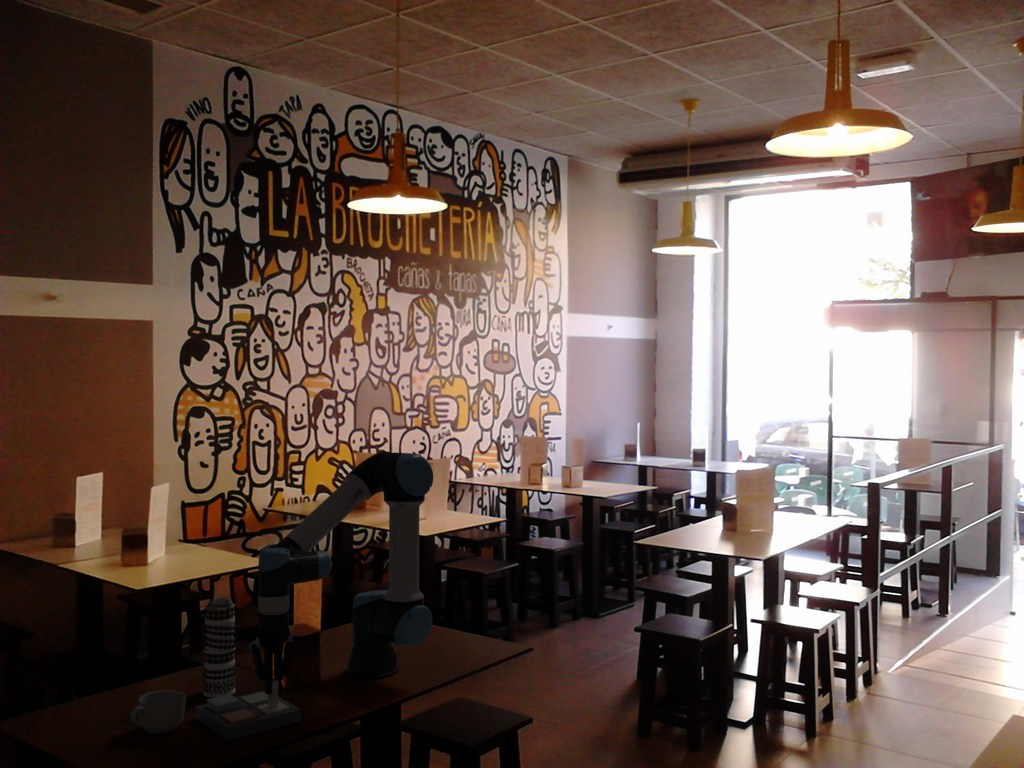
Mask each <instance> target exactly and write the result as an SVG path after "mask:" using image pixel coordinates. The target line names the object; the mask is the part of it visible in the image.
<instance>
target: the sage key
mask: <svg viewBox="0 0 1024 768" xmlns="http://www.w3.org/2000/svg"><path fill="white" fill-rule="evenodd" d="M241 701H243V702H244V703H246V704H248V705H249V706H252V705H256V704H260V703H264V702H268V695H267V694H265V693H263V692H261V693H257V694H253V695H248V696H244V697H241Z"/></svg>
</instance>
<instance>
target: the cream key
mask: <svg viewBox="0 0 1024 768" xmlns="http://www.w3.org/2000/svg"><path fill="white" fill-rule="evenodd" d="M256 710H258V711H259V712H261V713H263V714H264V715H266V716H268V715H271V714H275V713H279V712H283V711H287V710H290V707H288V706H286V705H285V704H283V703H281V702H279V701H278V707H276V708H271V707H270V706H268V704H265V705H261V706H257V707H256Z"/></svg>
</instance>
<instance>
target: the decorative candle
mask: <svg viewBox="0 0 1024 768" xmlns="http://www.w3.org/2000/svg"><path fill="white" fill-rule="evenodd" d="M235 607H236V604H235V603H234V602H233V601H232V600H231V599H230V598H215V599H212V600H210V601H209V602H208V604H207V605H205V606H204V608H205V617H204V620H203V621H202V622H201V623H202V624H201V625H202V627H201V629H202V630H201V631H202V632H203V634H202V644H203V645H204V646H203V647H202V650H203V652H204V655H205V657H204V667H203V668H202V669H203V670H202V671H203V672H204V673H202V677H203V678H204V679H203V680H202V685H203V686H202V689H203V691H202V692H203V693H202V694H203V695H202V696H205V697H207V698H210V699H212V697H213V698H216V697H220V696H225V695H229V694H230V695H233V694H234V693H235V692H236V685H237V684H236V681H237V678H236V676H235V675H236V673H237V672H236V670H235V669H237V665H236V664H235V663H236V662H235V650H236V649H237V643H235V642H237V641H238V640H237V639H238V638H236V637H235V636H236V635H237V634H238V631H237V630H236V629H238V625H236V624H235V623H236V616H235Z"/></svg>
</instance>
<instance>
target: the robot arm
mask: <svg viewBox="0 0 1024 768" xmlns="http://www.w3.org/2000/svg"><path fill="white" fill-rule="evenodd" d="M433 484H434V471H433V468H432V465H431V463H430V462H429V461H428V460H427V459H426V458H425V457H424V456H422V455H419V454H415V453H413V452H412V453H411V452H392V451H381V452H377V453H375V454H373V455H371V456H369V457H367V458H365V459H364V460H363V461H362V462H360V463H359V464H357V465H356V466H355V467H354V468H353V469H352V470H350V472H348V473H347V474H346V475H345V477H344V482H343V483H342V484H341V485H339V486H338V487H337V488H336V489H335V490H334V491H333V492H332V493H331V494H330V495H329V496H328V497H327V498H325V499H324V500H323V501H322V503H320V504H318V506H317V507H315V508H314V510H313V511H311V512H310V513H309V515H307V516H306V517H305V518H304V519H303V520H302V521H301V522H300V523H298V524H297V525H296V527H295V526H294V528H293V529H292V530H291V531H289V532H288V534H286V536H284V537H283V538H281V540H280V541H278V543H273V544H268V545H266V546H264V547H263V548H262V549H261V550H260V552H259V554H258V567H257V573H258V574H257V575H258V576H257V577H258V579H257V581H258V585H257V587H258V596H257V597H258V599H257V601H258V603H257V604H258V605H257V606H258V607H257V610H258V612H259V613H257V628H258V629H257V634H256V638H255V639H254V640H253V641H252V642H251V641H250V642H248V643H247V647H248V649H249V650H250V652H251V655H252V659H253V664H254V668H255V673H256V678H257V679H259V680H261V681H262V682H264V690H265V693H266V694H268V706H270V707H271V708H276V707H278V697H279V693H281V692H282V681H284V677H286V676H288V675H289V674H290V671H291V667H292V666H291V665H292V661H293V657H294V651H295V647H296V645H297V643H298V641H299V639H300V637H299V635H297V634H294V633H291V630H290V628H289V627H290V612H289V611H288V610H289V609H290V587H291V586H292V585H297V584H303V583H304V584H305V583H310V582H313V581H314V582H317V581H320V580H323V579H326V578H328V577H329V575H330V574H331V571H332V559H331V556H330V555H329V553H328V552H327V551H326V550H321V549H319V550H313V548H315V547H316V546H317V545H318V543H320V542H321V541H322V540H323V539H324V538H325V537H326V536H327V535H328V534H330V532H332V531H333V529H335V528H336V527H337V526H338V525H339V524H340V523H341V522H342V521H344V519H345V518H346V517H348V515H350V514H351V512H352V511H353V510H355V509H356V508H357V507H358V506H359V505H360V504H361V503H362V502H363V501H369V500H370V499H371V498H372V497H373V496H374V495H377V494H379V493H382V492H383V501H384V502H385V503H386V505H387V506H388V507H389V512H388V517H389V518H388V519H389V521H388V523H389V524H388V525H389V526H388V527H389V528H388V589H387V590H386V589H382V590H371V591H365V592H360V593H357V594H356V595H355V596H354V597H353V599H352V600H353V601H352V607H351V609H352V645H351V649H350V653H349V656H348V658H347V662H346V670H347V671H346V673H347V672H348V673H349V674H351V675H354V676H358V677H357V678H360V677H377V676H382V675H385V674H389V673H391V672H393V671H395V670H396V669H397V668H398V669H399V661H398V660H399V659H398V657H397V653H396V650H395V647H394V644H397V645H399V646H404V647H405V646H407V647H416V646H417V645H419V644H422V642H423V641H424V640H425V639H426V637H427V636H428V635H429V634H430V632H431V630H432V626H433V615H432V611H431V610H430V609H429V607H427V606H425V594H423V593H422V591H421V590H420V507H421V505H422V504H423V503H424V502H425V500H426V497H425V496H426V495H427V494H428V493H429V492H430V489H431V488H432V487H433ZM285 643H286V644H285ZM393 643H394V644H393ZM260 645H261V646H262V647H263V650H262V651H263V656H264V657H263V659H262V654H261V651H260V648H261V646H260ZM284 645H285V646H284ZM284 647H285V648H284ZM348 673H347V674H348ZM349 674H348V675H349ZM351 675H350V676H351ZM354 676H353V677H354Z"/></svg>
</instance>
